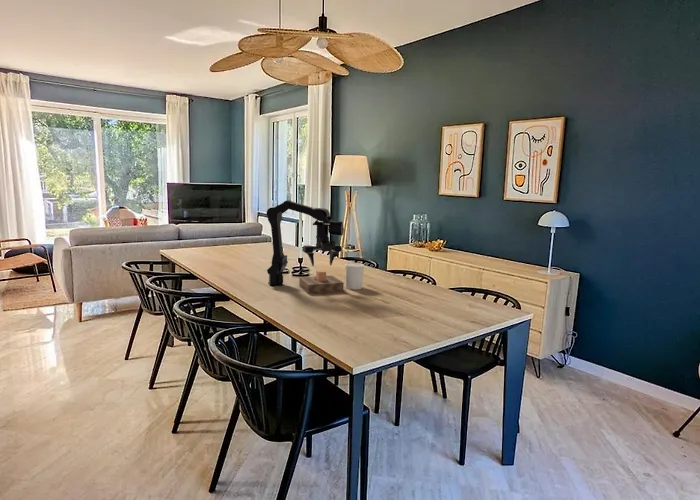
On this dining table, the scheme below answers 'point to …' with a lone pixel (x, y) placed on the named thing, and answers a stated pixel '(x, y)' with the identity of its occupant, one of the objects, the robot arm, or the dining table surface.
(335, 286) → the socket block
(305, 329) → the dining table surface
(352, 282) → the candle holder
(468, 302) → the dining table surface
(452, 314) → the dining table surface
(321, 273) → the peg
